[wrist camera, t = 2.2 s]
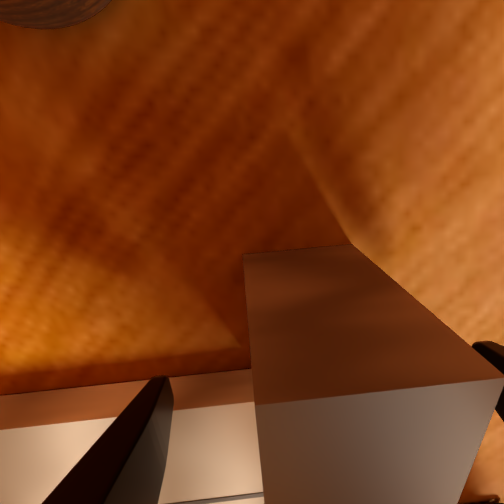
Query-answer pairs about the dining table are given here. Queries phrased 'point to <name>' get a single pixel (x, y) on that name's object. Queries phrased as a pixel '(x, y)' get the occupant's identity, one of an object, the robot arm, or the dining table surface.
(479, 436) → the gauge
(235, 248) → the dining table surface
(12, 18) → the utensil holder
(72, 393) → the board
